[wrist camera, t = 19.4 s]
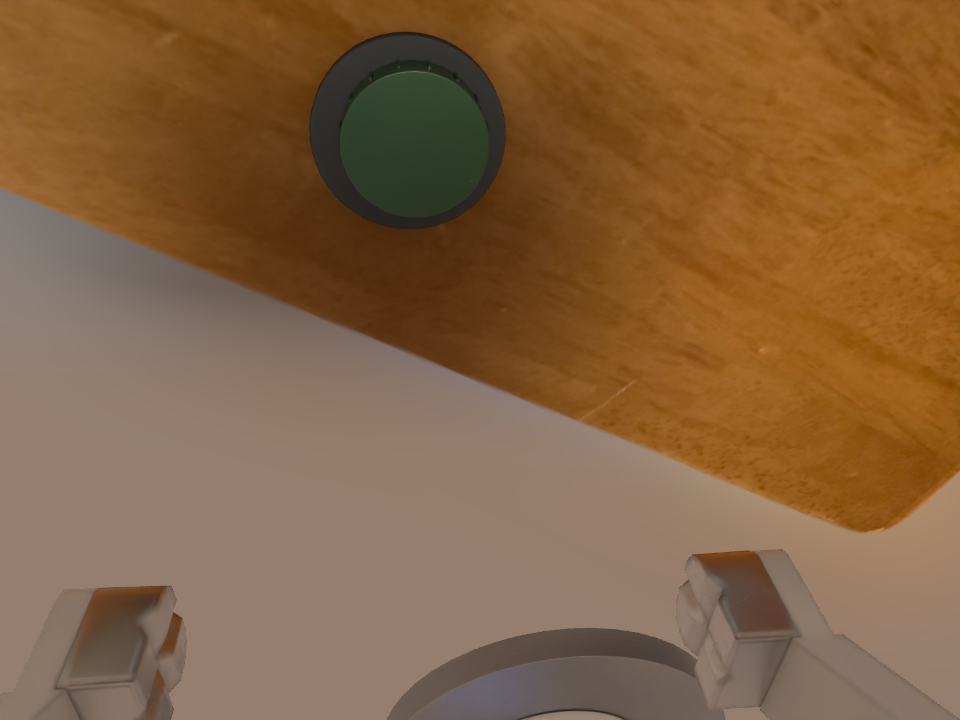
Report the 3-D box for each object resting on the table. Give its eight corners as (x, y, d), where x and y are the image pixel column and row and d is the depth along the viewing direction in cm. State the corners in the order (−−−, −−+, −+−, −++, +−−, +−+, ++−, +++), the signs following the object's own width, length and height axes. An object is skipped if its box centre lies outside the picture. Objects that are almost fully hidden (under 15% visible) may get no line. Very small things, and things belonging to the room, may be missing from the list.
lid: (488, 60, 29) (493, 71, 27) (482, 202, 32) (486, 218, 31) (335, 57, 28) (333, 68, 27) (345, 202, 31) (343, 218, 30)
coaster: (442, 253, 34) (443, 258, 33) (279, 169, 31) (277, 174, 30) (540, 99, 30) (543, 104, 30) (366, -12, 27) (366, -9, 27)
